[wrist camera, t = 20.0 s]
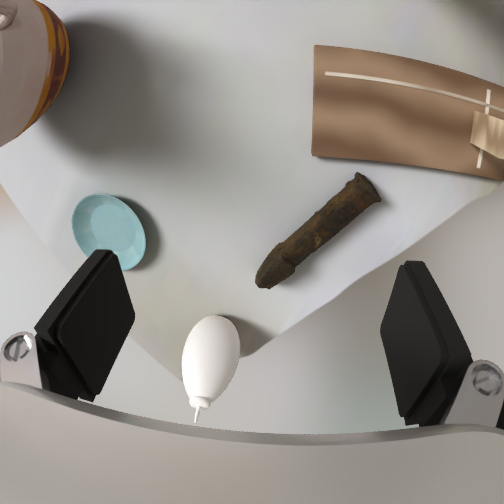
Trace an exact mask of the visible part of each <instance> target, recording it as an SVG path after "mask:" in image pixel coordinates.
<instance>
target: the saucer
mask: <svg viewBox="0 0 504 504" xmlns="http://www.w3.org/2000/svg"><path fill="white" fill-rule="evenodd" d="M72 229H73V234H74V237H75V239H76V242H77V243H78V245H79V247H80V248H81V250H82V251H83V252H84V254H85V255H86V256H87V257H88V258H89V256H90V255H91V254H92V253H93V252H94V251H95V250H96V249H108V250H112V251H113V252H114V254H116V255H117V256H118V259H119V262H120V266H121V269H122V271H124V270H128V269H131V268H133V267H134V266H136V265H137V264H138V263H139V262H140V261H141V259H142V257H143V255H144V253H145V248H146V238H145V233H144V229H143V227H142V224H141V222H140V220H139V219H138V217H137V215H136V214H135V213H134V212H133V210H132V209H131V208H130V207H129V206H128V205H126V204H125V203H124V202H122V201H121V200H119V199H117V198H115V197H113V196H110V195H107V194H91V195H89V196H87V197H85V198H83V199H82V200H81V201H80V202H79V203H78V204H77V206H76V207H75V209H74V212H73V216H72Z"/></svg>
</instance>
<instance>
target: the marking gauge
mask: <svg viewBox="0 0 504 504" xmlns="http://www.w3.org/2000/svg"><path fill="white" fill-rule="evenodd" d="M470 143H472V144H474V145H476V146H477V147H479V148H481V149H483V150H485V151H487V152H489V153H490V154H492V155H494V156H496V157H497V158H500V159H504V120H502V119H500V118H497V117H494V116H491V115H488V114H485V113H481V112H478V111H475V110H474V118H473V126H472V133H471V140H470Z"/></svg>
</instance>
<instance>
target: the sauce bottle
mask: <svg viewBox="0 0 504 504" xmlns="http://www.w3.org/2000/svg"><path fill="white" fill-rule="evenodd" d="M239 356H240V339H239V335H238V332H237V330H236V328H235V326H234V324H233V323H232V322H231V321H230V320H228V319H226V318H224V317H222V316H217V315H211V316H207V317H205V318H203V319H202V320H200V321H199V322H198V323H197V324H196V325H195V326H194V327H193V329H192V330H191V332H190V334H189V335H188V338H187V340H186V343H185V346H184V350H183V355H182V376H183V382H184V386H185V389H186V392H187V394H188V396H189V397H190V401H189V402H190V405H191V406H192V407H194V408H196V415H195V424H196V422H197V420H198V416H199V413H200V410H206V409H208V408H209V407H210V404H211V403H212V402H213V401H215V400H216V399H217V398H218V397H219V396H220V395H221V394H222V393H223V391H224V390H225V389H226V388H227V386H228V384H229V383H230V381H231V379H232V377H233V375H234V373H235V371H236V368H237V365H238V360H239Z"/></svg>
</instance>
